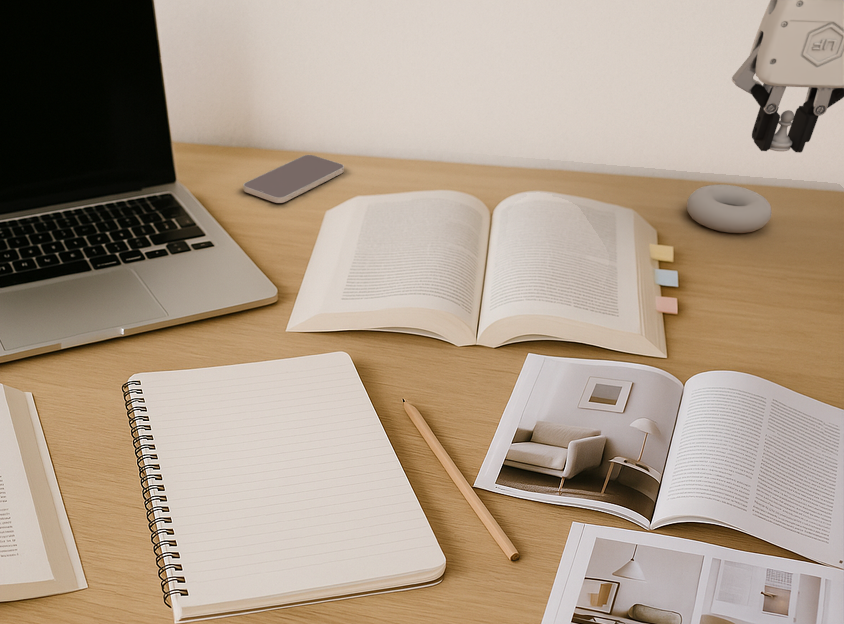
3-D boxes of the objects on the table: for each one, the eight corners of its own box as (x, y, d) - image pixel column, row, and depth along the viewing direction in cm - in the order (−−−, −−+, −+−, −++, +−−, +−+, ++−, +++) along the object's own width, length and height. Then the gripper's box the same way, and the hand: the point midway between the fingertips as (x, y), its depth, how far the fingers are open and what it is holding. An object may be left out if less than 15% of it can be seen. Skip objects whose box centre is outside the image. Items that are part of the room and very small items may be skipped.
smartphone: (347, 165, 122) (280, 199, 112) (347, 171, 122) (280, 205, 113) (307, 153, 125) (239, 184, 116) (307, 159, 126) (239, 191, 116)
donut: (678, 201, 114) (688, 233, 106) (685, 177, 112) (696, 207, 104) (758, 208, 112) (774, 241, 104) (766, 184, 110) (784, 215, 102)
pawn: (764, 150, 89) (776, 113, 87) (763, 141, 91) (774, 105, 89) (791, 153, 89) (804, 116, 86) (789, 144, 91) (802, 107, 88)
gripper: (761, -34, 77) (706, 157, 88) (952, -31, 75) (872, 164, 86) (738, -49, 83) (689, 131, 94) (915, -47, 81) (844, 137, 92)
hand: (777, 145), depth 90 cm, fingers closed on pawn, 2 cm apart
